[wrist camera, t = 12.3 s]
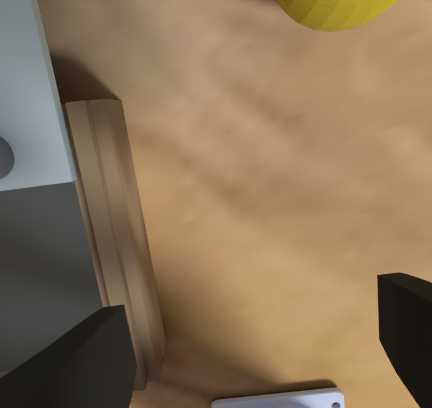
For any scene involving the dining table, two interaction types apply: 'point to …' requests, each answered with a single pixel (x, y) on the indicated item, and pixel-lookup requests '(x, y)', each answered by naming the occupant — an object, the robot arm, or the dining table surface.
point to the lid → (29, 104)
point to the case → (79, 248)
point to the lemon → (334, 12)
